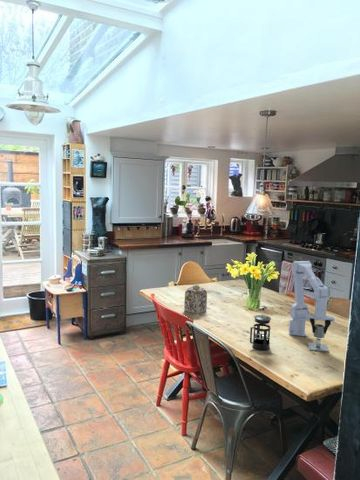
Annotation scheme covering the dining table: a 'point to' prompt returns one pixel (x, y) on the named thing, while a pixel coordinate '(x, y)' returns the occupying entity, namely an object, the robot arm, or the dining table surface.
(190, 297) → the decorative jar
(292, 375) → the dining table surface
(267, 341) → the french press
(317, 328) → the collar
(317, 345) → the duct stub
